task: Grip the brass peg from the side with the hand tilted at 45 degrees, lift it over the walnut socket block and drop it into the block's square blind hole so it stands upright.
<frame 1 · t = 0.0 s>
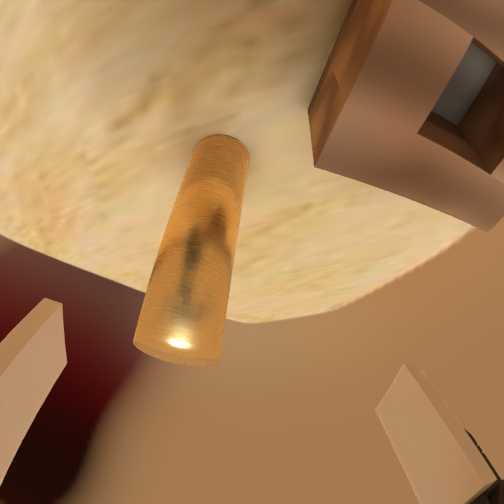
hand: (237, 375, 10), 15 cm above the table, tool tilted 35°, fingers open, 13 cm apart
walnut socket block: (439, 67, 14), on the table
brass peg: (221, 157, 22), on the table
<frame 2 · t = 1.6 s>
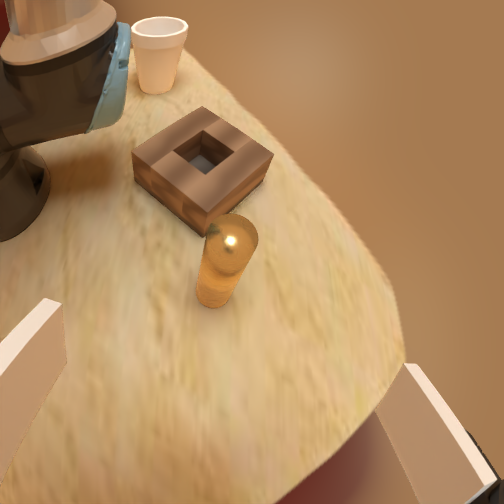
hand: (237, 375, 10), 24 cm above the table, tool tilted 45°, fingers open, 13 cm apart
walnut socket block: (199, 179, 43), on the table
brass peg: (212, 291, 36), on the table
foam cup: (156, 85, 50), on the table
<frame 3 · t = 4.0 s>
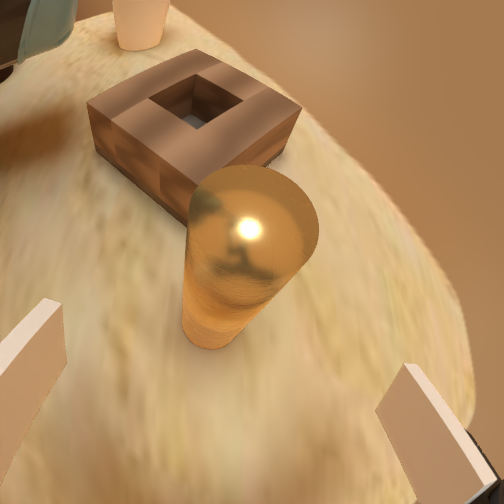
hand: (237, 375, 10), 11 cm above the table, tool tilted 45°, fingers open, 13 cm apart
walnut socket block: (190, 147, 28), on the table
brass peg: (210, 321, 22), on the table
foam cup: (139, 42, 36), on the table
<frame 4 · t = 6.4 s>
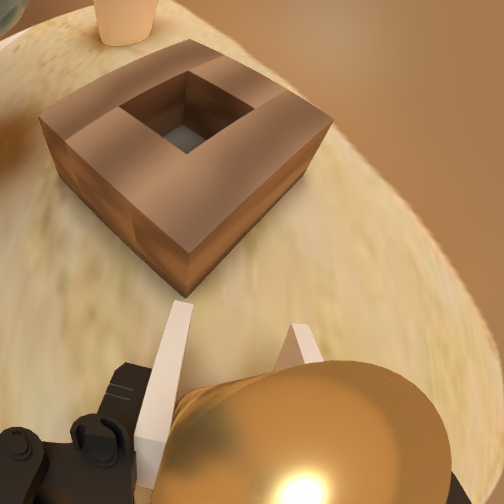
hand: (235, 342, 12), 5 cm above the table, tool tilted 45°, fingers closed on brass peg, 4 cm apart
walnut socket block: (181, 171, 21), on the table
brass peg: (211, 422, 15), on the table, touching gripper
foam cup: (125, 36, 29), on the table
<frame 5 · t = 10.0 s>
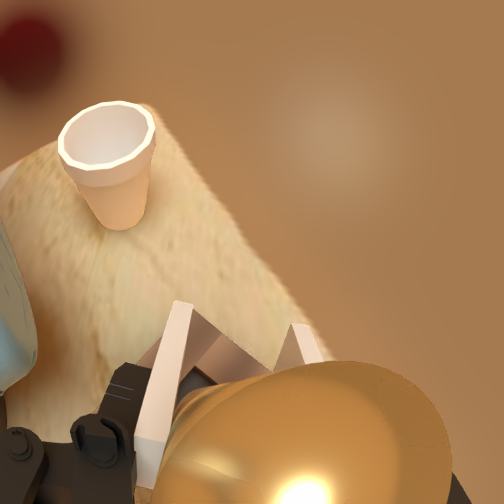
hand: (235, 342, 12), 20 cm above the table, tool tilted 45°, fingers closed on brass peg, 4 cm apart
walnut socket block: (196, 407, 28), on the table
brass peg: (211, 422, 15), point 15 cm above the table, touching gripper
foam cup: (120, 209, 36), on the table
when the fingers open (8 cm above the table, at t = 13.8 s): brass peg drops 2 cm, resting on walnut socket block.
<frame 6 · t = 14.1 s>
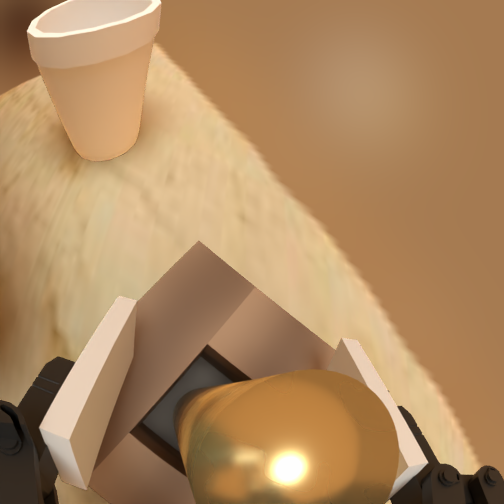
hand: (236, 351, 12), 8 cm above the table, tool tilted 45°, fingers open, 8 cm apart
walnut socket block: (206, 417, 17), on the table
brass peg: (206, 419, 16), point 1 cm above the table, touching walnut socket block
foam cup: (106, 137, 25), on the table
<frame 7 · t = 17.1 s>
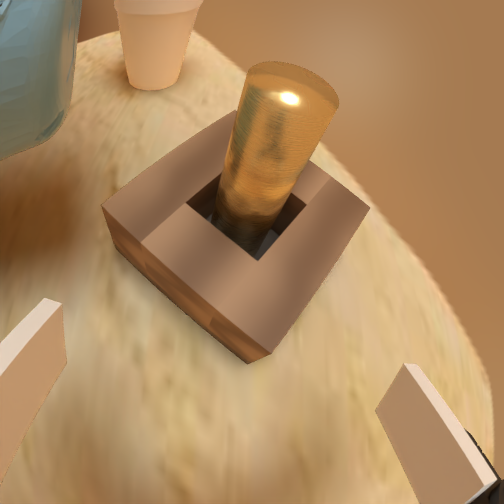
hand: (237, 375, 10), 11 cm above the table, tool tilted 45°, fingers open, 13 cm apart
walnut socket block: (232, 245, 25), on the table
brass peg: (233, 240, 24), point 1 cm above the table, touching walnut socket block
foam cup: (153, 78, 32), on the table
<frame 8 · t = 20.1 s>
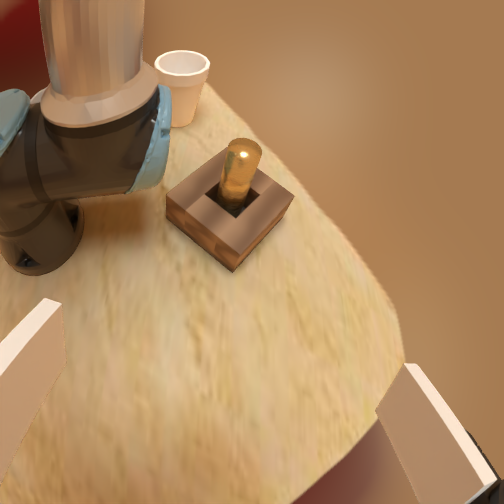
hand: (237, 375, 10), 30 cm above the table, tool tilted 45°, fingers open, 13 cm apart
walnut socket block: (226, 216, 48), on the table
brass peg: (226, 213, 47), point 1 cm above the table, touching walnut socket block
foam cup: (177, 117, 56), on the table
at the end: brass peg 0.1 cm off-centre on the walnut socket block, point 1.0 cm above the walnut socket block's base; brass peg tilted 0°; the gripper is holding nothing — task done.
